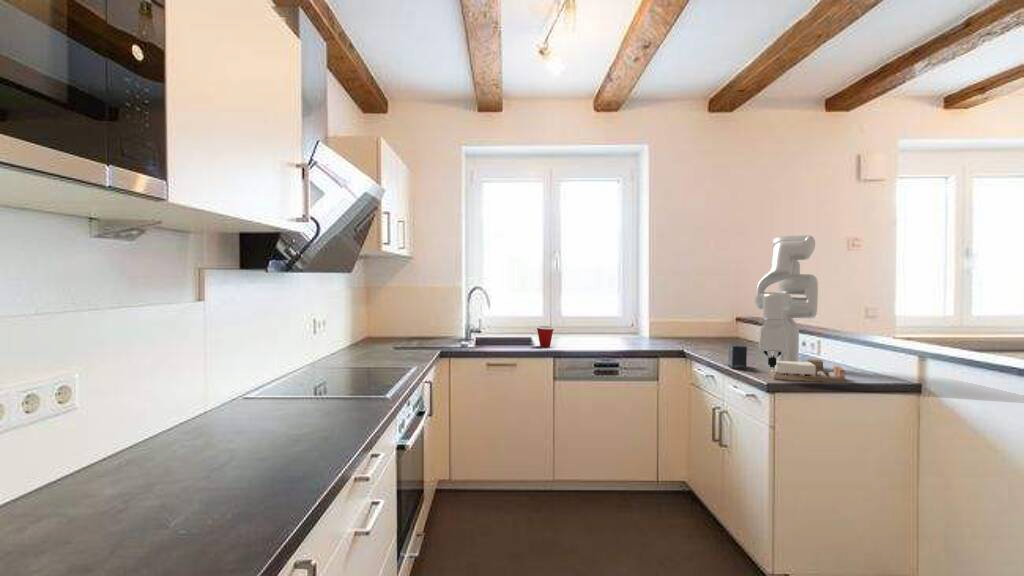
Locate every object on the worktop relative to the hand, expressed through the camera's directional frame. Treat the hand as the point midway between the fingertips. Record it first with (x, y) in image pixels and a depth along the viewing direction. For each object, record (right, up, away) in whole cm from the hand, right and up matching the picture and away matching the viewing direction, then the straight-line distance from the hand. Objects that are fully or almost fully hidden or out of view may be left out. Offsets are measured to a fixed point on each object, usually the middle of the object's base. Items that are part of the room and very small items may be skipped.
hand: (772, 366), depth 215 cm
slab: (+8, -2, -3) cm, 9 cm away
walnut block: (+20, -4, +4) cm, 21 cm away
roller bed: (+12, -4, -4) cm, 13 cm away
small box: (-5, -4, +21) cm, 22 cm away
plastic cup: (-89, -2, +89) cm, 126 cm away
